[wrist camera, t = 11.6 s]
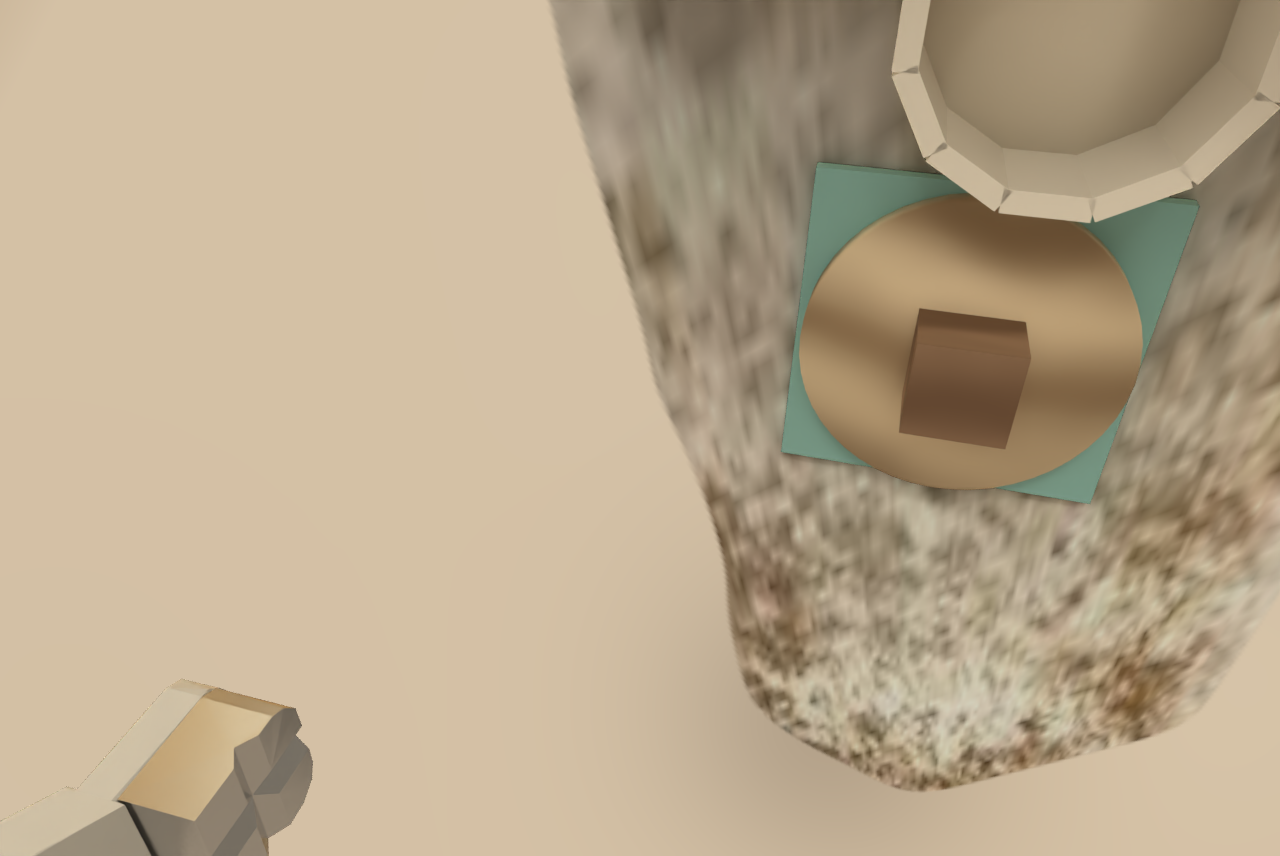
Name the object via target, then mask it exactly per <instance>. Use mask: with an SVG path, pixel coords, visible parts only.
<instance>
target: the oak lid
mask: <svg viewBox="0 0 1280 856" xmlns="http://www.w3.org/2000/svg"><path fill="white" fill-rule="evenodd" d="M1142 348H1143V339H1142V324H1141V319H1140V315H1139V310H1138V306H1137V303H1136V300H1135V298H1134V295H1133V292H1132V290H1131V287H1130V285H1129V282H1128V280H1127V278H1126V275H1125V273H1124V271H1123V270H1122V268H1121V266H1120V265H1119V263H1118V262H1117V260H1116V258H1115V257H1114V255H1113V254H1112V253H1111V252H1110V251H1109V249H1108V248H1107V247H1106V246H1105V245H1104V244H1103V243H1102V241H1101V240H1100V239H1099V238H1098V237H1096V236H1095V235H1094V234H1093V233H1092V232H1090V231H1089V230H1088V229H1087V228H1086V227H1085V226H1083V225H1082V224H1080V223H1079V222H1076V221H1067V220H1057V219H1048V218H1039V217H1030V216H1020V215H1011V214H1002V213H998V208H997V209H996V210H995V211H993V210H991V209H990V208H989V207H987V206H986V205H985V204H983V203H982V202H980V201H979V200H978V199H976V198H975V197H974V196H972V195H971V194H970V193H959V194H948V195H943V196H938V197H933V198H928V199H924V200H921V201H918V202H915V203H912V204H909V205H906V206H903V207H901V208H899V209H897V210H895V211H893V212H891V213H888V214H886V215H884V216H882V217H881V218H879V219H878V220H876V221H874V222H873V223H871V224H870V225H868V226H866V227H865V228H864V229H862V230H861V231H860V232H859V233H857V234H856V235H855V236H854V237H853V238H851V239H850V240H849V241H848V242H847V243H846V244H845V245H844V246H843V247H842V248H841V249H840V250H839V251H838V252H837V253H836V254H835V255H834V257H833V258H832V259H831V261H830V262H829V264H828V265H827V266H826V268H825V269H824V271H823V272H822V274H821V276H820V278H819V279H818V281H817V283H816V285H815V287H814V289H813V292H812V294H811V297H810V300H809V303H808V305H807V309H806V312H805V316H804V319H803V324H802V329H801V334H800V347H799V359H800V369H801V375H802V379H803V383H804V387H805V390H806V393H807V395H808V398H809V400H810V402H811V405H812V407H813V408H814V410H815V412H816V414H817V415H818V417H819V419H820V420H821V422H822V423H823V424H824V426H825V427H826V428H827V429H828V431H829V432H830V433H831V435H832V436H833V437H834V438H835V439H836V440H837V441H838V442H840V443H841V444H842V445H843V446H844V447H845V448H846V449H847V450H848V451H850V452H851V453H852V454H854V455H855V456H856V457H858V458H859V459H860V460H862V461H864V462H865V463H867V464H869V465H870V466H872V467H874V468H875V469H878V470H880V471H882V472H884V473H886V474H888V475H891V476H893V477H896V478H899V479H902V480H905V481H908V482H911V483H915V484H919V485H924V486H929V487H935V488H943V489H959V490H974V489H986V488H995V487H1000V486H1005V485H1011V484H1015V483H1018V482H1022V481H1025V480H1028V479H1032V478H1035V477H1037V476H1039V475H1042V474H1044V473H1047V472H1049V471H1052V470H1053V469H1055V468H1057V467H1059V466H1061V465H1063V464H1064V463H1066V462H1068V461H1070V460H1071V459H1073V458H1074V457H1076V456H1077V455H1079V454H1080V453H1081V452H1083V451H1084V450H1086V449H1087V448H1088V447H1089V446H1090V445H1092V444H1093V443H1094V442H1095V441H1096V440H1097V439H1098V438H1099V437H1100V436H1102V435H1103V434H1104V432H1105V431H1106V430H1107V429H1108V428H1109V426H1110V425H1111V424H1112V423H1113V422H1114V421H1115V419H1116V418H1117V417H1118V415H1119V413H1120V412H1121V410H1122V409H1123V407H1124V406H1125V404H1126V403H1127V401H1128V398H1129V396H1130V394H1131V392H1132V390H1133V387H1134V385H1135V383H1136V379H1137V376H1138V372H1139V368H1140V365H1141V356H1142Z"/></svg>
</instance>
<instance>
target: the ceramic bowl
mask: <svg viewBox="0 0 1280 856" xmlns="http://www.w3.org/2000/svg"><path fill="white" fill-rule="evenodd" d="M891 72H893V73H892V79H893V82H894V84H895V87H896V89H897V92H898V95H899V97H900V100H901V102H902V105H903V107H904V110H905V113H906V115H907V118H908V120H909V123H910V125H911V128H912V131H913V133H914V136H915V138H916V141H917V143H918V146H919V149H920V151H921V154H922V156H923V158H925V157H926V162H927V163H928V164H930V165H931V166H932V167H934V168H935V169H937V170H938V171H939V172H941V173H942V174H943V175H945V176H946V177H948V178H949V179H950V180H952V181H953V182H954V183H956V184H957V185H959V186H960V187H961V188H963V189H964V190H965V191H967V192H968V193H970V194H971V195H972V196H974V197H975V198H976V199H978V200H979V201H980V202H982V203H983V204H985V205H986V206H987V207H989V208H990V209H991V210H993V211H995V210H996V209H997V208H998V213H1002V214H1011V215H1020V216H1030V217H1039V218H1048V219H1057V220H1067V221H1076V222H1085V223H1090V221H1091V218H1092V215H1093V218H1094V221H1095V222H1098V221H1100V220H1103V219H1106V218H1109V217H1112V216H1115V215H1118V214H1120V213H1123V212H1126V211H1129V210H1132V209H1135V208H1137V207H1140V206H1143V205H1146V204H1149V203H1152V202H1155V201H1157V200H1160V199H1163V198H1166V197H1169V196H1172V195H1174V194H1177V193H1180V192H1183V191H1186V190H1189V189H1192V188H1193V186H1192V182H1191V180H1192V181H1193V182H1194V183H1196V184H1197V185H1198V184H1200V183H1201V182H1202V181H1203V180H1204V179H1205V178H1206V177H1207V176H1208V175H1209V174H1210V173H1211V172H1212V171H1214V170H1215V169H1216V168H1217V167H1218V166H1219V165H1220V164H1221V163H1222V162H1223V161H1224V160H1225V159H1226V158H1228V157H1229V156H1230V155H1231V154H1232V153H1233V152H1234V151H1235V150H1236V149H1237V148H1238V147H1239V146H1241V145H1242V144H1243V143H1244V142H1245V141H1246V140H1247V139H1248V138H1249V137H1250V136H1251V135H1252V134H1253V133H1255V132H1256V131H1257V130H1258V129H1259V128H1260V127H1261V126H1262V125H1263V124H1264V123H1265V122H1266V121H1267V120H1269V119H1270V118H1271V117H1272V116H1273V115H1274V114H1275V113H1276V112H1277V111H1278V110H1279V109H1280V106H1278V105H1277V104H1276V103H1275V102H1277V103H1280V0H903V1H902V7H901V14H900V20H899V26H898V32H897V39H896V45H895V51H894V57H893V64H892V70H891Z"/></svg>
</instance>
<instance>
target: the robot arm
mask: <svg viewBox="0 0 1280 856" xmlns="http://www.w3.org/2000/svg"><path fill="white" fill-rule="evenodd" d="M301 726H302V725H301V722H300V719H299V717H298V714H297V712H296V709H295V708H292V707H288V706H284V705H280V704H276V703H273V702H268V701H265V700H261V699H256V698H253V697H249V696H245V695H241V694H237V693H233V692H229V691H226V690H224V689H221V688H217V687H213V686H209V685H205V684H200V683H196V682H192V681H189V680H184V679H180V680H179V681H177V682H176V683H174V684H172V685H170V686H169V687H167V688H166V689H165V690H164V691H163V692H162V693H161V694H160V695H159V696H158V698H157V699H156V700H155V701H154V702H153V703H152V705H151V706H150V707H149V708H148V709H147V710H146V711H145V712H144V713H143V715H142V716H141V717H140V718H139V719H138V720H137V722H136V723H135V724H134V725H133V726H132V727H131V728H130V730H129V731H128V732H127V733H126V734H125V735H124V736H123V737H122V739H121V740H120V741H119V742H118V743H117V744H116V745H115V746H114V748H113V749H112V750H111V751H110V752H109V753H108V754H107V755H106V757H105V758H104V759H103V760H102V761H101V762H100V763H99V765H98V766H97V767H96V768H95V769H94V770H93V771H92V772H91V774H90V775H89V776H88V777H87V778H86V779H85V781H84V782H83V783H82V784H81V785H80V786H79V787H78V788H77V789H74V788H70V787H65V788H63V789H61V790H59V791H57V792H55V793H53V794H51V795H49V796H47V797H45V798H44V799H42V800H40V801H38V802H36V803H34V804H32V805H30V806H28V807H26V808H24V809H22V810H20V811H19V812H17V813H15V814H13V815H11V816H9V817H7V818H5V819H3V820H1V821H0V856H269V852H268V838H269V837H271V836H272V835H274V834H276V833H277V832H279V831H280V830H282V829H284V828H285V827H287V826H289V825H290V824H291V823H292V821H293V819H294V818H295V816H296V814H297V813H298V811H299V810H300V808H301V806H302V805H303V803H304V800H305V797H306V794H307V792H308V789H309V786H310V783H311V780H312V766H313V761H312V757H311V754H310V750H309V748H308V747H307V746H306V745H305V744H304V743H303V742H302V741H301V740H300V739H299V738H298V737H297V736H296V734H297V732H298V731H299V729H300V728H301Z"/></svg>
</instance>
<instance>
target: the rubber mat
mask: <svg viewBox="0 0 1280 856" xmlns="http://www.w3.org/2000/svg"><path fill="white" fill-rule="evenodd" d="M959 193H968V192H967V191H965V190H964V189H963V188H961V187H960V186H959V185H957V184H956V183H954V182H953V181H952V180H950V179H949V178H948V177H946V176H945V175H941V174H931V173H921V172H911V171H901V170H891V169H881V168H871V167H862V166H852V165H842V164H832V163H822V162H818V164H817V166H816V173H815V182H814V190H813V198H812V206H811V214H810V222H809V230H808V238H807V246H806V254H805V263H804V271H803V279H802V287H801V295H800V303H799V311H798V319H797V327H796V336H795V344H794V352H793V360H792V368H791V376H790V384H789V392H788V400H787V408H786V417H785V425H784V433H783V441H782V449H781V452H784V453H790V454H796V455H802V456H808V457H814V458H820V459H826V460H832V461H838V462H844V463H849V464H855V465H861V466H867V467H872V466H870V465H869V464H867V463H865V462H864V461H862V460H860V459H859V458H858V457H856V456H855V455H854V454H852V453H851V452H850V451H848V450H847V449H846V448H845V447H844V446H843V445H842V444H841V443H840V442H838V441H837V440H836V439H835V438H834V437H833V436H832V435H831V433H830V432H829V431H828V429H827V428H826V427H825V426H824V424H823V423H822V422H821V420H820V419H819V417H818V415H817V414H816V412H815V410H814V408H813V407H812V405H811V402H810V400H809V398H808V395H807V393H806V390H805V387H804V383H803V379H802V375H801V369H800V359H799V347H800V334H801V329H802V324H803V319H804V316H805V312H806V309H807V305H808V303H809V300H810V297H811V294H812V292H813V289H814V287H815V285H816V283H817V281H818V279H819V278H820V276H821V274H822V272H823V271H824V269H825V268H826V266H827V265H828V264H829V262H830V261H831V259H832V258H833V257H834V255H835V254H836V253H837V252H838V251H839V250H840V249H841V248H842V247H843V246H844V245H845V244H846V243H847V242H848V241H849V240H850V239H851V238H853V237H854V236H855V235H856V234H857V233H859V232H860V231H861V230H862V229H864V228H865V227H866V226H868V225H870V224H871V223H873V222H874V221H876V220H878V219H879V218H881V217H882V216H884V215H886V214H888V213H891V212H893V211H895V210H897V209H899V208H901V207H903V206H906V205H909V204H912V203H915V202H918V201H921V200H924V199H928V198H933V197H938V196H943V195H948V194H959ZM1198 209H1199V204H1198V202H1197V201H1196V200H1189V199H1179V198H1169V197H1166V198H1163V199H1160V200H1157V201H1155V202H1152V203H1149V204H1146V205H1143V206H1140V207H1137V208H1135V209H1132V210H1129V211H1126V212H1123V213H1120V214H1118V215H1115V216H1112V217H1109V218H1106V219H1103V220H1100V221H1098V222H1095V221H1094V218H1093V215H1092V218H1091V221H1090V223H1085V222H1079V223H1080V224H1082V225H1083V226H1085V227H1086V228H1087V229H1088V230H1089V231H1090V232H1092V233H1093V234H1094V235H1095V236H1096V237H1098V238H1099V239H1100V240H1101V241H1102V243H1103V244H1104V245H1105V246H1106V247H1107V248H1108V249H1109V251H1110V252H1111V253H1112V254H1113V255H1114V257H1115V258H1116V260H1117V262H1118V263H1119V265H1120V266H1121V268H1122V270H1123V271H1124V273H1125V275H1126V278H1127V280H1128V282H1129V285H1130V287H1131V290H1132V292H1133V295H1134V298H1135V300H1136V303H1137V306H1138V310H1139V315H1140V319H1141V324H1142V339H1143V348H1142V356H1141V364H1142V361H1143V359H1144V356H1145V353H1146V350H1147V348H1148V345H1149V342H1150V340H1151V337H1152V334H1153V331H1154V329H1155V326H1156V323H1157V321H1158V318H1159V315H1160V312H1161V310H1162V307H1163V304H1164V302H1165V299H1166V296H1167V293H1168V291H1169V288H1170V285H1171V283H1172V280H1173V277H1174V274H1175V272H1176V269H1177V266H1178V264H1179V261H1180V258H1181V255H1182V253H1183V250H1184V247H1185V244H1186V242H1187V239H1188V236H1189V234H1190V231H1191V228H1192V225H1193V223H1194V220H1195V217H1196V215H1197V212H1198ZM1140 367H1141V365H1140ZM1139 369H1140V368H1139ZM1129 397H1130V396H1129ZM1128 399H1129V398H1128ZM1127 402H1128V401H1127ZM1126 405H1127V403H1126V404H1125V406H1124V407H1123V409H1122V410H1121V412H1120V413H1119V415H1118V417H1117V418H1116V419H1115V421H1114V422H1113V423H1112V424H1111V425H1110V426H1109V428H1108V429H1107V430H1106V431H1105V432H1104V434H1103V435H1102V436H1100V437H1099V438H1098V439H1097V440H1096V441H1095V442H1094V443H1093V444H1092V445H1090V446H1089V447H1088V448H1087V449H1086V450H1084V451H1083V452H1081V453H1080V454H1079V455H1077V456H1076V457H1074V458H1073V459H1071V460H1070V461H1068V462H1066V463H1064V464H1063V465H1061V466H1059V467H1057V468H1055V469H1053V470H1052V471H1049V472H1047V473H1044V474H1042V475H1039V476H1037V477H1035V478H1032V479H1028V480H1025V481H1022V482H1018V483H1015V484H1011V485H1005V486H1000V487H995V488H998V489H1004V490H1010V491H1016V492H1022V493H1028V494H1034V495H1040V496H1046V497H1051V498H1057V499H1063V500H1069V501H1075V502H1081V503H1087V504H1090V502H1091V500H1092V497H1093V494H1094V492H1095V489H1096V486H1097V483H1098V481H1099V478H1100V475H1101V473H1102V470H1103V467H1104V464H1105V462H1106V459H1107V456H1108V454H1109V451H1110V448H1111V445H1112V443H1113V440H1114V437H1115V435H1116V432H1117V429H1118V426H1119V424H1120V421H1121V418H1122V416H1123V413H1124V410H1125V407H1126ZM873 468H874V467H873Z"/></svg>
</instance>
